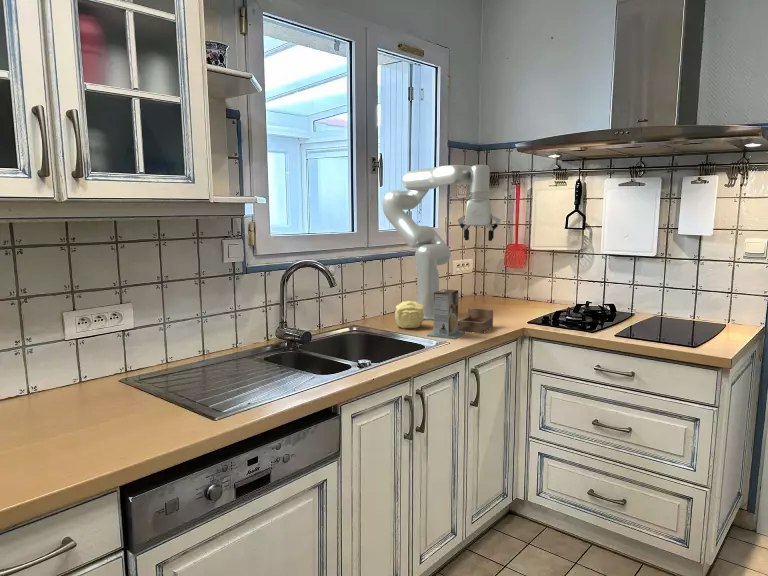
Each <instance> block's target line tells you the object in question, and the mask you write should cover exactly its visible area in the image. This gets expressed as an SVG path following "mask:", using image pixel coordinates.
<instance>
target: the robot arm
mask: <svg viewBox="0 0 768 576" xmlns="http://www.w3.org/2000/svg"><path fill="white" fill-rule="evenodd" d="M490 174H491V173H490V166H489V165H488V164H473V165H472V166H471V165H464V164H446V165H439V166H435V167H432V168H431V167H430V168H423V169H415V170H409V171H407V172H406V173H404V175H403V176H402V180H401V182H402V184H403V187H404V188H405V190H400V189H399V190H390V191H389V192H388V191H387V192H386V194H385V195H384V196H383V198H382V210H383V214H384V216H385V218H386V219H387V220H388V222H389V223H390V224H391V225H392V226H393V227H394V229H395V230H396V232H397V233H398V235H399V236H400V237H401V238H402V239H403V242H405V244H406V245H407V246H408V247H410V248H412V249H416V251H415V253H414V254H415V256H414V261H415V267H416V282H417V283H416V285H417V286H416V294H417V295H416V302H417V303H419V304H421V305H423V306H424V308H423V312H424V318H423V320H426V321H427V320H428V321H429V320H434V292H437V291H440V272H439V269H438V267H437V266H443V265H446V264H447V263H448V262H449V261H450V259H451V250H450V248H449V247H448V245H447V244H446V241H444V240H443V239H442V237H441V236H440V235H439V234H438V232H437V231H436V230H435V229H434V228H433V227H431V226H429V225H418V224H417V223H416V222H415V220H414V219H413V218H412V217H411V215H409V214H408V213H407V212H405V211H407V210H413V209H415V208H416V207H418V205H419V204H420V203H421V202H422V200H423V199H424V197H425V196H426V195H427V193H428V192H429V191H430V190H432V189H438V188H439V187H440V186H446V185H466V186H467V185H469V193H466V198H468V199H469V200H467V201H466V206H465V207H466V208H465V213H464V214H465V215H463V216H462V217H459V218H458V219H457V222H458V224H459V226H460V228H462V230H463V238H464V240H465V241H469V240H470V230H469V229H470V227H473V226H474V227H475V226H477V227H479V226H481V227H487V228H488V234H487V235H488V240H487V241H489V242H492V241H493V239H494V234H495V230H496V229H497V228H498V227H499V225H500V223H501V219H500V218H499V217H497V216H496V215H493V208H492V201H491V200H490V176H491V175H490ZM404 210H405V211H404ZM463 221H464V222H463ZM493 221H495V223H494V224H493Z"/></svg>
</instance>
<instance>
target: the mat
mask: <svg viewBox="0 0 768 576" xmlns="http://www.w3.org/2000/svg"><path fill="white" fill-rule="evenodd" d="M464 334H466V332H462V331H458V332H456V333H454V334H452V335H450V336H442V335H434V330H433V331H432V332H430V333H427V334H426V337H432V338H440V339H442V338H443V339H450V340H451V339H452V340H456V339H458V338H459V337H461V336H463V335H464Z"/></svg>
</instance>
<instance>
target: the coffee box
mask: <svg viewBox="0 0 768 576" xmlns="http://www.w3.org/2000/svg"><path fill="white" fill-rule="evenodd" d="M458 321H459V289H444V288H443V289H441V290H440V289H439V291H437V292H434V319H433V331H434V335H442V336H450V335H452V334H454V333H456V332H458Z"/></svg>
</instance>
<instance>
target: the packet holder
mask: <svg viewBox="0 0 768 576" xmlns="http://www.w3.org/2000/svg"><path fill="white" fill-rule="evenodd" d="M493 324H494V309H487V308H485V309H484V308H475V307H468V308H467V316H465V317H463V318H461V319H458V331H462V332H465V333H472V332H474V333H475V334H482V333H483V334H485V333H487V332H488V331H489V330H490V328H491V329H492V328H493V327H494V325H493ZM487 330H488V331H487ZM484 332H485V333H484ZM474 333H473V334H474Z"/></svg>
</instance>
